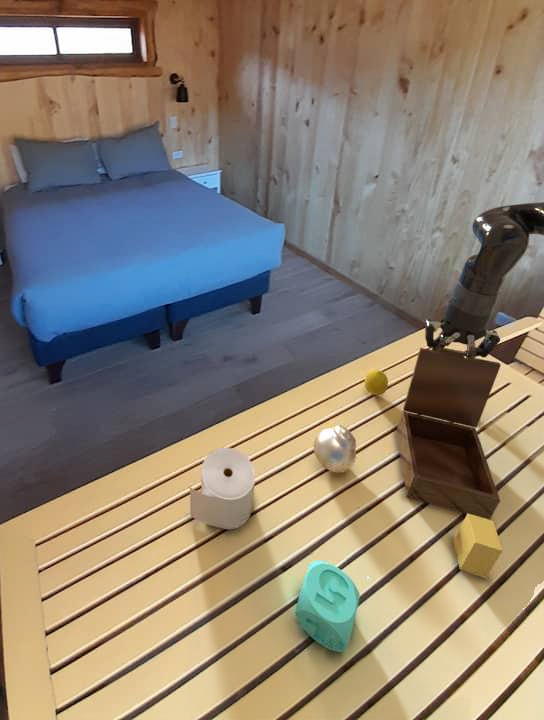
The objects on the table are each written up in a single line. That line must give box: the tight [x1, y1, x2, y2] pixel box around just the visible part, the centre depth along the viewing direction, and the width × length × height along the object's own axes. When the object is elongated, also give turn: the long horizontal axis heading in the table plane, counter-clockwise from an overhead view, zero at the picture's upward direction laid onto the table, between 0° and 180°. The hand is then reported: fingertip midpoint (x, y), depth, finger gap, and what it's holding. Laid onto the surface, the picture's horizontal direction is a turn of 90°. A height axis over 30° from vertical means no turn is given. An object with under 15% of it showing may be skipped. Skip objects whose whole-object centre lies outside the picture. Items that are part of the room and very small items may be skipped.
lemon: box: [364, 369, 389, 396], centre depth 106 cm, size 6×6×8 cm
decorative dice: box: [294, 560, 361, 653], centre depth 65 cm, size 8×8×8 cm
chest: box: [396, 410, 501, 520], centre depth 87 cm, size 17×15×7 cm
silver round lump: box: [313, 424, 357, 474], centre depth 89 cm, size 9×10×10 cm
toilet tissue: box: [189, 447, 256, 530], centre depth 81 cm, size 11×12×10 cm
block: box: [453, 514, 503, 579], centre depth 72 cm, size 4×5×9 cm
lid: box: [402, 347, 502, 429], centre depth 91 cm, size 18×15×5 cm
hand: (448, 362), depth 91 cm, fingers closed on lid, 5 cm apart
